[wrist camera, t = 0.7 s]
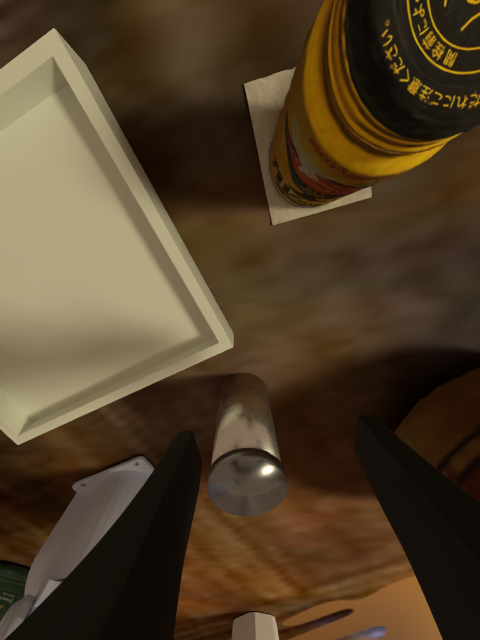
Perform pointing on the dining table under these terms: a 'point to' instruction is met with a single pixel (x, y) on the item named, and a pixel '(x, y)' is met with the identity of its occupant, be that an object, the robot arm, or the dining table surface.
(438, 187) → the dining table surface
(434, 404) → the ceramic pitcher
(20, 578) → the green squeeze bottle
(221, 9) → the dining table surface
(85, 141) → the tray
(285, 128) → the condiment
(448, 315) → the dining table surface
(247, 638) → the cup
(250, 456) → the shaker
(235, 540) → the dining table surface
